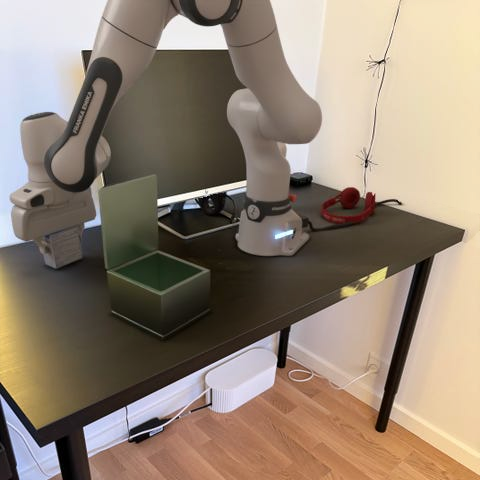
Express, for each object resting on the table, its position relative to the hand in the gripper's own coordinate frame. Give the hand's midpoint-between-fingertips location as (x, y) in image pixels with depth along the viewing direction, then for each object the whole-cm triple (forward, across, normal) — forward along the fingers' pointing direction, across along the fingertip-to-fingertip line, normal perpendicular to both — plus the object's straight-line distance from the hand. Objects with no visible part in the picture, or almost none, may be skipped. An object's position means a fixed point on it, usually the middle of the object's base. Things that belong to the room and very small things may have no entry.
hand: (61, 247), depth 116 cm
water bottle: (+6, -68, +15) cm, 69 cm away
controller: (+5, -52, +2) cm, 53 cm away
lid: (-14, +1, +28) cm, 31 cm away
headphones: (+6, -83, +36) cm, 90 cm away
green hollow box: (+5, +1, +34) cm, 35 cm away
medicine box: (+4, 0, 0) cm, 4 cm away
